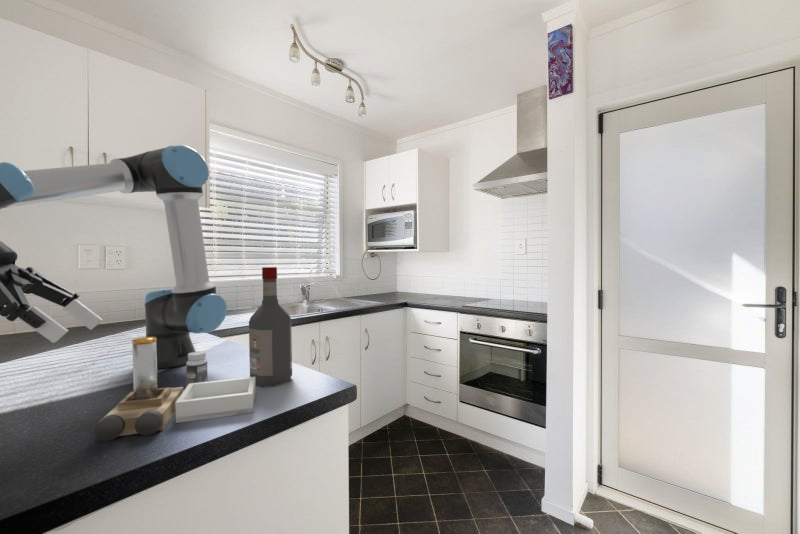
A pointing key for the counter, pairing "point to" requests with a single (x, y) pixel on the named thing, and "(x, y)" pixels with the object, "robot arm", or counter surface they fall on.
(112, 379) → the counter surface
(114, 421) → the trolley block
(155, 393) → the gold capped bottle
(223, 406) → the tray
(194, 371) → the pill bottle
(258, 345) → the liquor
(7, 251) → the robot arm
